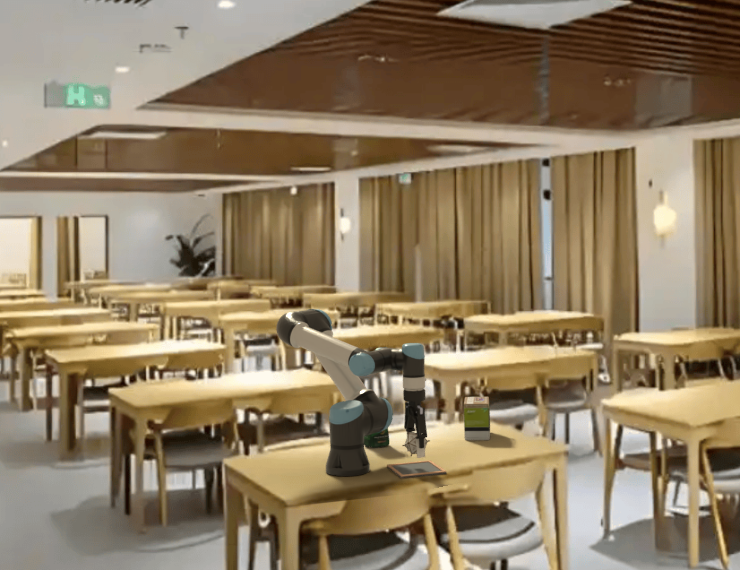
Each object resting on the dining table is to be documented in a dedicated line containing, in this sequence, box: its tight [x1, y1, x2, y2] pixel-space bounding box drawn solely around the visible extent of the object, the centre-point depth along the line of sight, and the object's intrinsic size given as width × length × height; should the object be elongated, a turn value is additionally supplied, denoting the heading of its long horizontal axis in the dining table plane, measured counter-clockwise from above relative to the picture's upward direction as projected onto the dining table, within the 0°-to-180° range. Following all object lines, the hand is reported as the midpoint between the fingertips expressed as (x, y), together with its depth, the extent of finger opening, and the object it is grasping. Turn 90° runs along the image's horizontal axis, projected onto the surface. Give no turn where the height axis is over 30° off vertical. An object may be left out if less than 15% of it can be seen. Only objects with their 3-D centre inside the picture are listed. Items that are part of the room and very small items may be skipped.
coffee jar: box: [364, 397, 390, 449], centre depth 350 cm, size 10×8×19 cm
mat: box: [386, 460, 447, 479], centre depth 312 cm, size 16×16×1 cm
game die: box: [401, 432, 431, 457], centre depth 312 cm, size 9×8×10 cm
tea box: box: [463, 396, 491, 441], centre depth 363 cm, size 15×10×15 cm, turn 172°
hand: (416, 454), depth 312 cm, fingers closed on game die, 9 cm apart
